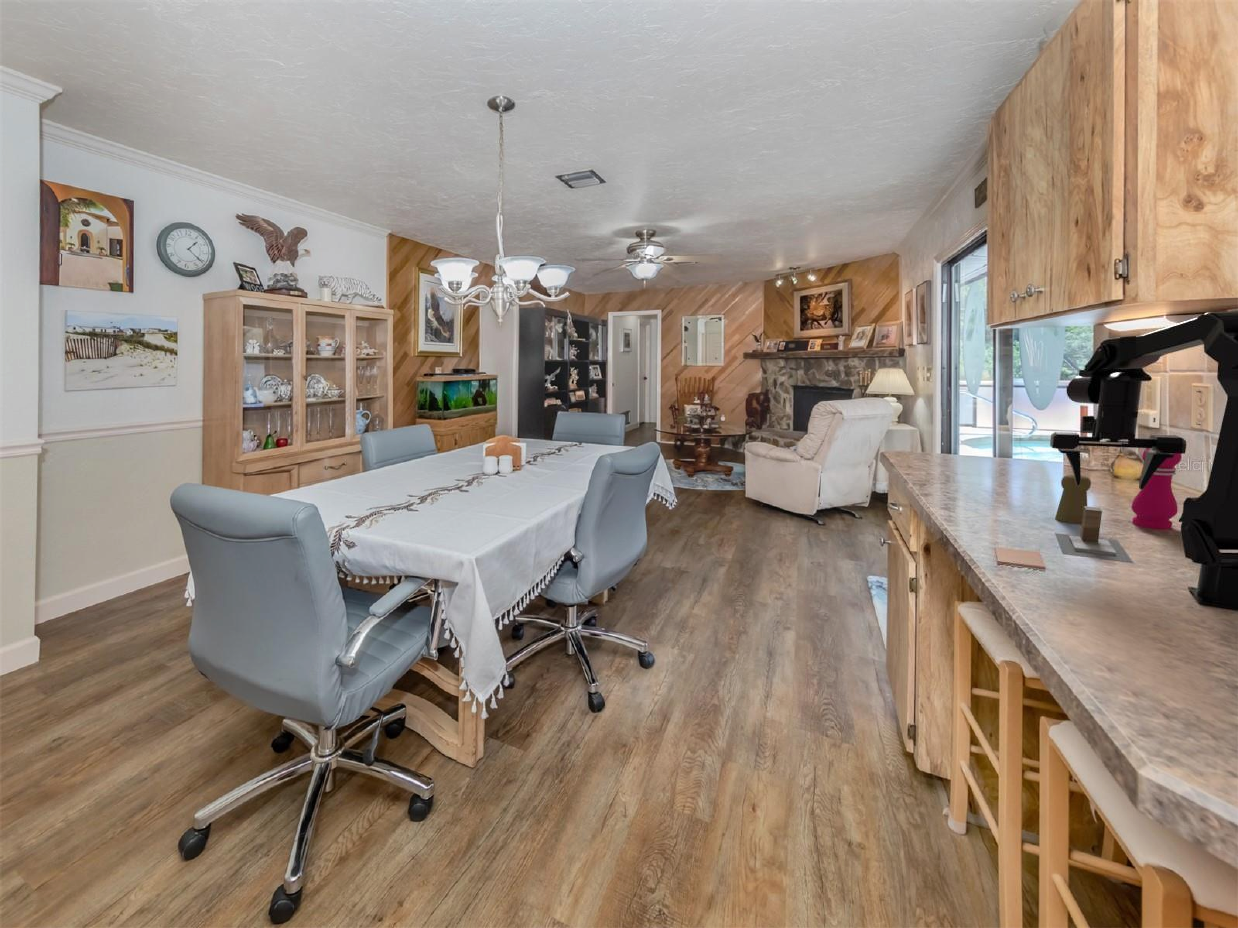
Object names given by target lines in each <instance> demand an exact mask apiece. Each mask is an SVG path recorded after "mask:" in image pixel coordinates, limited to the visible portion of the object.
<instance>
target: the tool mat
mask: <svg viewBox="0 0 1238 928" xmlns="http://www.w3.org/2000/svg"><path fill="white" fill-rule="evenodd" d="M1054 535H1055V537H1056V541H1057V543H1058V545H1059V548H1060V551H1061V553H1062V554H1063V555H1069V556H1074V557H1075V556H1076V557H1085V558H1091V559H1097V560H1098V559H1100V560H1108V561H1113V562H1114V561H1115V562H1123V563H1129V564H1130V563H1132V564H1133V563H1134V561H1133V560H1132V558H1131V557H1130V556H1129V555H1128V553H1127V551H1126V550H1125V549H1124V547H1123V546H1122V544H1121V543H1120V541H1119V540H1118V539H1110V538H1109V539H1108V538H1105V539H1106V540H1108V542H1109V543H1110V544H1111V546H1112V547H1113V549H1114V550H1115V552H1116V556H1114V555H1105V554H1097V553H1089V552H1081V551H1075V550H1074V548H1073V546H1072V544H1071V542H1070V540H1069V535H1070V536H1076V535H1074V534H1064V533H1055V532H1054ZM1078 536H1079V537H1080V535H1078ZM1099 539H1103V538H1100V537H1099Z"/></svg>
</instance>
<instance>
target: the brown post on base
mask: <svg viewBox="0 0 1238 928" xmlns="http://www.w3.org/2000/svg"><path fill="white" fill-rule="evenodd" d="M1102 514H1103V510H1102V509H1101V508H1100V507H1096V506H1088V505H1087V506H1084V509H1083V517H1082V524H1081V526H1080V535H1075V536H1070V535H1071V534H1068V535H1069V540H1070V542H1071V544H1072V546H1073V548H1074V550H1075V551H1081V552H1089V553H1097V554H1105V555H1114V556H1116V552H1115V550H1114V549H1113V547H1112V546H1111V544H1110V543H1109V542H1108V540H1106V539H1107V538H1102V539H1099V538H1100V530H1101V524H1102ZM1079 536H1080V537H1079Z"/></svg>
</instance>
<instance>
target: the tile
mask: <svg viewBox="0 0 1238 928" xmlns="http://www.w3.org/2000/svg"><path fill="white" fill-rule="evenodd" d="M994 549H995V556H996V561H997V563H996V565H997V566H1000V565H1006V566H1005V567H1007V566H1011V567H1010V568H1015V567H1017V569H1022V568H1025V567H1026V568H1028V569H1027V570H1030V569H1033V570H1032V571H1037V570H1039V571H1040V572H1046V565H1045V562H1044V560H1043V558H1042V555H1041V553H1040V551H1034V550H1026V549H1025V550H1024V549H1016V548H1008V547H998V546H995V547H994ZM1039 571H1038V572H1039Z"/></svg>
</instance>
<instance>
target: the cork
mask: <svg viewBox="0 0 1238 928" xmlns="http://www.w3.org/2000/svg"><path fill="white" fill-rule="evenodd" d="M1091 482H1092V481H1091V479H1090V478H1089V477H1088V476H1085V475H1081V479H1080V485H1077V484H1076V481H1075V478H1074V474H1066V475H1064V476H1063V477H1062V478H1061V483H1060V484H1061V487H1062V493H1061V495H1060V500H1059V503H1058V506H1057V507H1058V508H1057V510H1056V514H1055V518H1054V519H1055V521H1058V522H1060V523H1066V524H1071V525H1082V517H1083V509H1084V506H1087V507H1088V495H1087V493H1088V490H1089V489H1091V485H1092V483H1091Z"/></svg>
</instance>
